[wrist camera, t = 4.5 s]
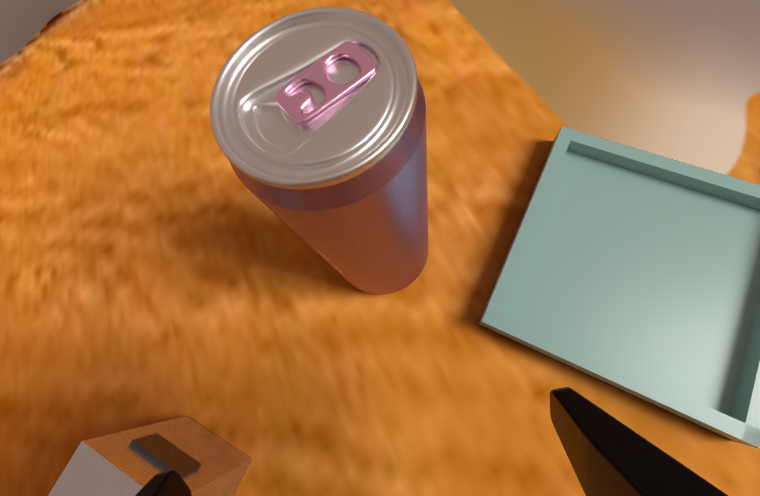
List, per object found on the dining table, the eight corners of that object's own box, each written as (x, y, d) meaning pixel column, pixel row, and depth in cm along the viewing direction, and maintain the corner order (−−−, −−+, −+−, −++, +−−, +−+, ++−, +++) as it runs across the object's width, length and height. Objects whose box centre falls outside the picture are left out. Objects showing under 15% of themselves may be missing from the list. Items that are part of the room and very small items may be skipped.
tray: (733, 441, 18) (761, 448, 16) (477, 324, 21) (481, 321, 20) (786, 213, 21) (815, 201, 19) (553, 140, 24) (561, 126, 23)
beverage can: (447, 256, 23) (476, 88, 9) (374, 315, 22) (275, 241, 8) (390, 193, 25) (335, -33, 10) (321, 246, 24) (165, 85, 10)
